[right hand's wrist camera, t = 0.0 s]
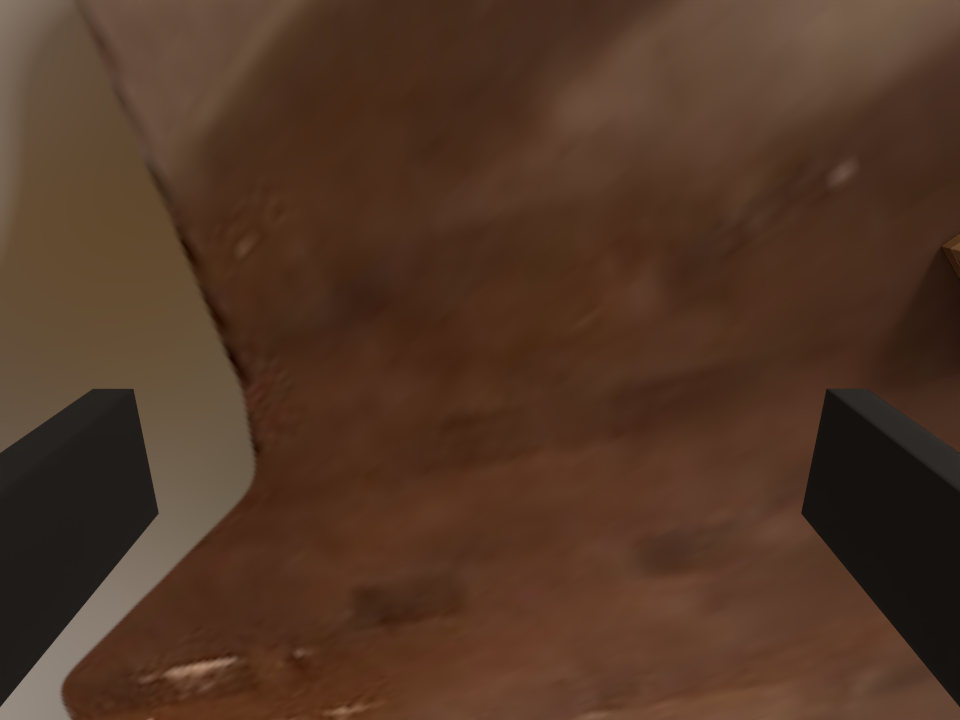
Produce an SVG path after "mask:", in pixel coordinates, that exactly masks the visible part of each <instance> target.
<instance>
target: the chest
mask: <svg viewBox="0 0 960 720" xmlns="http://www.w3.org/2000/svg"><path fill="white" fill-rule="evenodd" d="M941 248H942V249H943V251H944V253H945V255H946V256H947V258H948V260H949V262H950V263H951V265H952V267H953V269H954V270H955V272H956V274H957V276H958V277H959V279H960V234H958V235H957V236H955V237H954V238H952V239H951V240H949V241H948V242H946V243H945V244H943V245H942V246H941Z"/></svg>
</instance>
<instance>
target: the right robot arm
mask: <svg viewBox="0 0 960 720" xmlns="http://www.w3.org/2000/svg"><path fill="white" fill-rule="evenodd" d="M801 514H802V515H803V516H804V517H805V518H806V520H807V521H808V522H809V523H810V525H811V526H812V527H813V528H814V529H815V531H816V532H817V533H818V534H819V536H820V537H821V538H822V539H823V540H824V542H825V543H826V544H827V545H828V547H829V548H830V549H831V550H832V551H833V553H834V554H835V555H836V556H837V558H838V559H839V560H840V561H841V562H842V564H843V565H844V566H845V567H846V569H847V570H848V571H849V572H850V573H851V575H852V576H853V577H854V578H855V580H856V581H857V582H858V583H859V584H860V586H861V587H862V588H863V589H864V591H865V592H866V593H867V594H868V595H869V597H870V598H871V599H872V600H873V602H874V603H875V604H876V605H877V606H878V608H879V609H880V610H881V611H882V613H883V614H884V615H885V616H886V617H887V619H888V620H889V621H890V622H891V624H892V625H893V626H894V627H895V628H896V630H897V631H898V632H899V633H900V635H901V636H902V637H903V638H904V639H905V641H906V642H907V643H908V644H909V646H910V647H911V648H912V649H913V650H914V652H915V653H916V654H917V655H918V657H919V658H920V659H921V660H922V661H923V663H924V664H925V665H926V666H927V668H928V669H929V670H930V671H931V672H932V674H933V675H934V676H935V677H936V679H937V680H938V681H939V682H940V683H941V685H942V686H943V687H944V688H945V690H946V691H947V692H948V693H949V694H950V696H951V697H952V698H953V699H954V701H955V702H956V703H957V704H958V705H959V707H960V453H959V452H957V451H956V450H955V449H953V448H952V447H950V446H949V445H947V444H946V443H944V442H943V441H942V440H940V439H939V438H937V437H936V436H934V435H933V434H931V433H930V432H929V431H927V430H926V429H924V428H923V427H921V426H920V425H918V424H917V423H916V422H914V421H913V420H911V419H910V418H908V417H907V416H905V415H904V414H903V413H901V412H900V411H898V410H897V409H895V408H894V407H892V406H891V405H890V404H888V403H887V402H885V401H884V400H882V399H881V398H879V397H878V396H877V395H875V394H874V393H872V392H871V391H869V390H868V389H827V390H826V395H825V400H824V405H823V410H822V414H821V419H820V424H819V429H818V434H817V439H816V444H815V449H814V454H813V459H812V464H811V468H810V473H809V478H808V483H807V488H806V493H805V498H804V503H803V508H802V513H801ZM157 515H158V508H157V503H156V498H155V493H154V488H153V483H152V478H151V473H150V469H149V464H148V459H147V454H146V449H145V444H144V439H143V434H142V429H141V424H140V419H139V414H138V410H137V405H136V400H135V395H134V390H133V389H92V390H91V391H89V392H88V393H86V394H85V395H84V396H82V397H81V398H79V399H78V400H76V401H75V402H73V403H72V404H70V405H69V406H68V407H66V408H65V409H63V410H62V411H60V412H59V413H57V414H56V415H55V416H53V417H52V418H50V419H49V420H47V421H46V422H44V423H43V424H42V425H40V426H39V427H37V428H36V429H34V430H33V431H31V432H30V433H29V434H27V435H26V436H24V437H23V438H21V439H20V440H18V441H17V442H16V443H14V444H13V445H11V446H10V447H8V448H7V449H5V450H4V451H3V452H1V453H0V707H1V705H2V704H3V703H4V702H5V700H6V699H7V698H8V697H9V696H10V694H11V693H12V692H13V691H14V690H15V688H16V687H17V686H18V685H19V683H20V682H21V681H22V680H23V678H24V677H25V676H26V675H27V674H28V672H29V671H30V670H31V669H32V668H33V666H34V665H35V664H36V663H37V661H38V660H39V659H40V658H41V657H42V655H43V654H44V653H45V652H46V650H47V649H48V648H49V647H50V645H51V644H52V643H53V642H54V641H55V639H56V638H57V637H58V636H59V635H60V633H61V632H62V631H63V630H64V628H65V627H66V626H67V625H68V623H69V622H70V621H71V620H72V619H73V617H74V616H75V615H76V614H77V613H78V611H79V610H80V609H81V608H82V606H83V605H84V604H85V603H86V602H87V600H88V599H89V598H90V597H91V595H92V594H93V593H94V592H95V590H96V589H97V588H98V587H99V586H100V584H101V583H102V582H103V581H104V580H105V578H106V577H107V576H108V575H109V573H110V572H111V571H112V570H113V569H114V567H115V566H116V565H117V564H118V562H119V561H120V560H121V559H122V557H123V556H124V555H125V554H126V553H127V551H128V550H129V549H130V548H131V547H132V545H133V544H134V543H135V542H136V540H137V539H138V538H139V537H140V536H141V534H142V533H143V532H144V531H145V529H146V528H147V527H148V526H149V525H150V523H151V522H152V521H153V520H154V518H155V517H156V516H157Z"/></svg>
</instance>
